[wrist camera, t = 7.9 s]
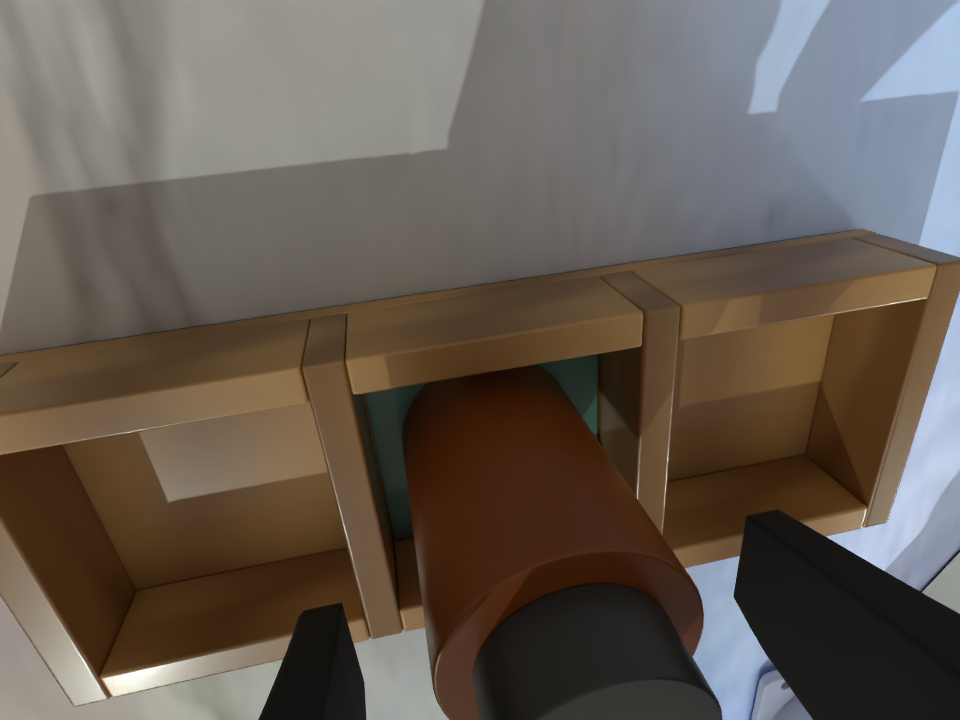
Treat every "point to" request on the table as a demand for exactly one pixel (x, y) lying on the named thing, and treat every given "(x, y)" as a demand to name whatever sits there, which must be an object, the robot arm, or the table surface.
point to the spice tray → (379, 451)
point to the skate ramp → (947, 586)
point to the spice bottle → (542, 563)
